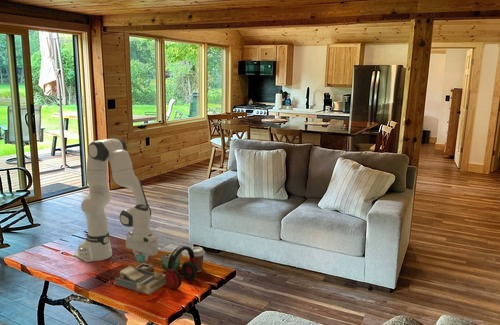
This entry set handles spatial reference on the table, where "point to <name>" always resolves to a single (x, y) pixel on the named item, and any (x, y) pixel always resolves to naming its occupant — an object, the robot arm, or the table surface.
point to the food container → (166, 259)
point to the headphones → (187, 268)
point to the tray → (152, 284)
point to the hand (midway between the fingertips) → (141, 258)
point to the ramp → (131, 273)
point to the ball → (140, 257)
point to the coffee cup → (198, 257)
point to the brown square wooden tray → (145, 267)
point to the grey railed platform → (133, 285)
